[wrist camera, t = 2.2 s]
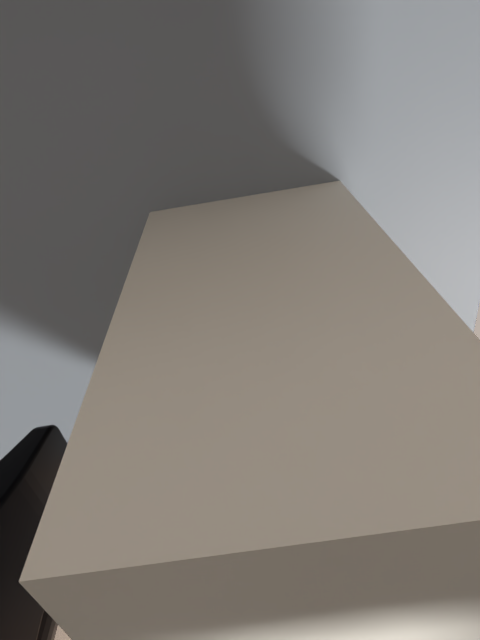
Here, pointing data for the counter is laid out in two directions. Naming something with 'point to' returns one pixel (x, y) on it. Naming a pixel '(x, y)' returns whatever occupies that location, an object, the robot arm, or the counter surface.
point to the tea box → (270, 440)
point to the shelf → (215, 150)
